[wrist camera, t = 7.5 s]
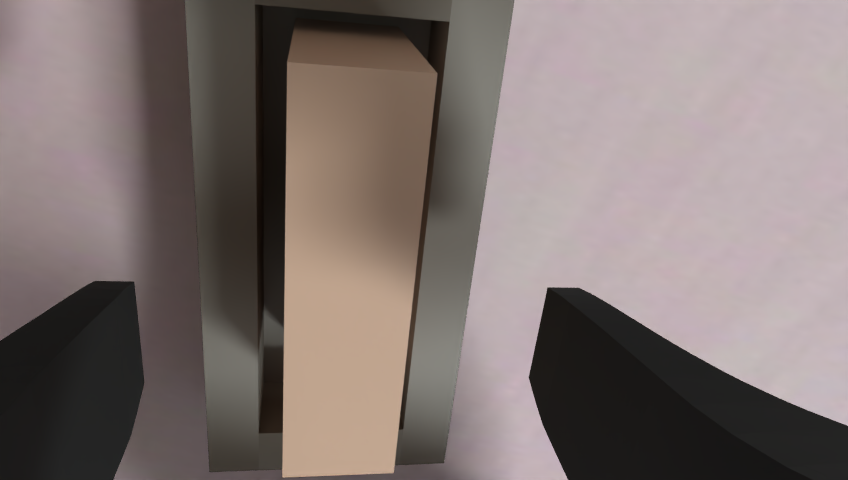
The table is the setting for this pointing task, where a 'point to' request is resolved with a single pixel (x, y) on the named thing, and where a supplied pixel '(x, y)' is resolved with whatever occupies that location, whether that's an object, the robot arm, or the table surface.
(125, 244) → the table surface
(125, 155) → the table surface
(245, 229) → the shallow rectangular tray
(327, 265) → the tan rectangular block
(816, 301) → the table surface
